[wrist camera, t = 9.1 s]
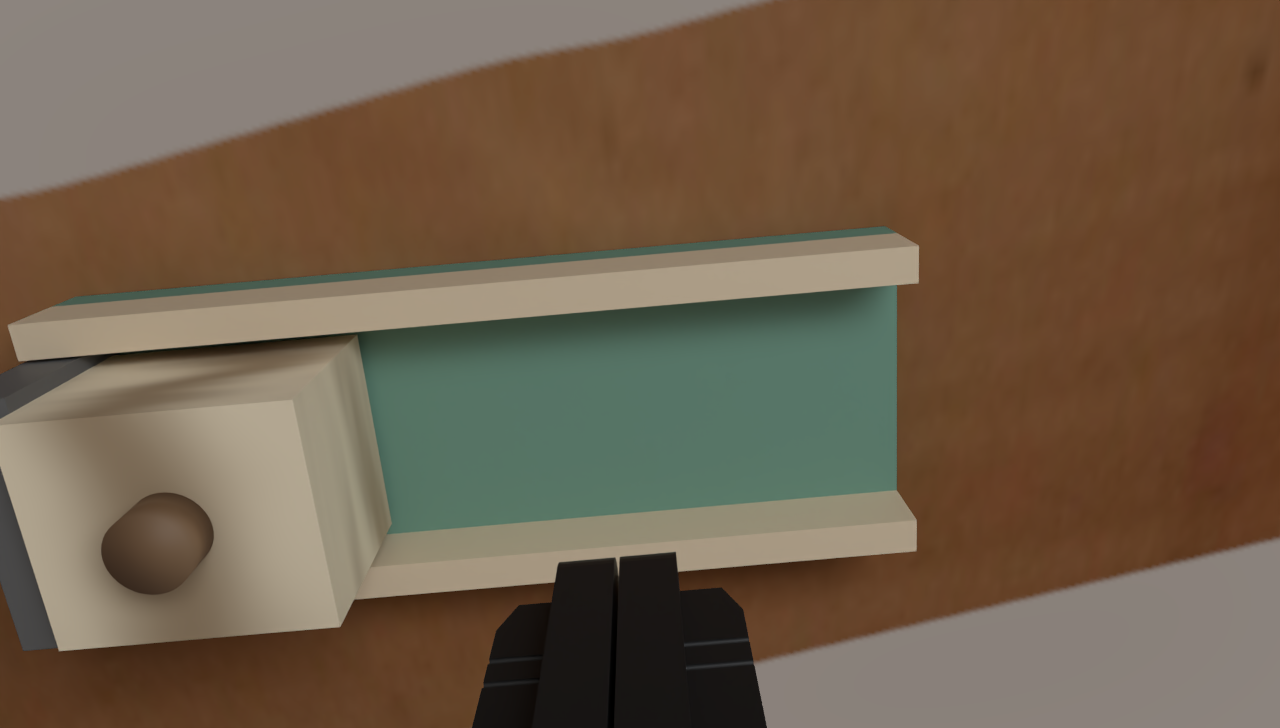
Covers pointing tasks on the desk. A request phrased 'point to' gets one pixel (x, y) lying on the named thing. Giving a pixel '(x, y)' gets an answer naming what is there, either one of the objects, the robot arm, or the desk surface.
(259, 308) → the rail
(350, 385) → the cream knobbed cube
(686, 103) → the desk surface
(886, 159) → the desk surface
